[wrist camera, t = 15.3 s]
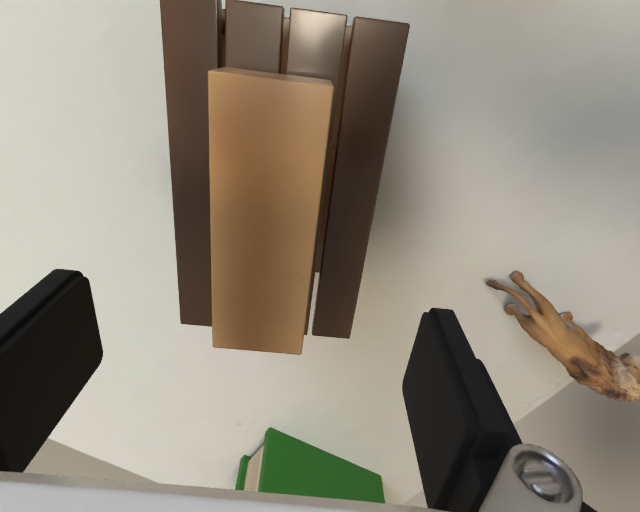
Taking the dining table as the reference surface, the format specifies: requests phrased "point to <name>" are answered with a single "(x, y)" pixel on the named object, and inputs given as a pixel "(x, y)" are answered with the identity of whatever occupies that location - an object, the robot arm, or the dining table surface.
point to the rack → (342, 146)
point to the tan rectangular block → (264, 203)
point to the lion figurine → (574, 345)
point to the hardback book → (305, 472)
